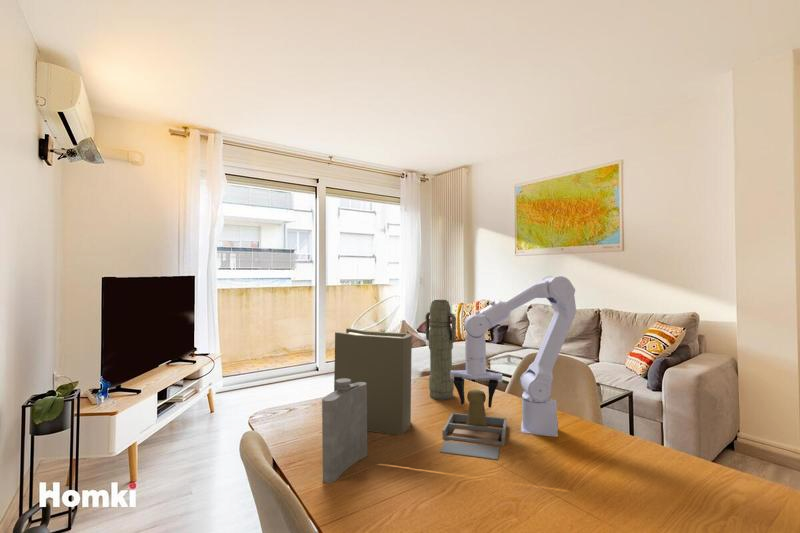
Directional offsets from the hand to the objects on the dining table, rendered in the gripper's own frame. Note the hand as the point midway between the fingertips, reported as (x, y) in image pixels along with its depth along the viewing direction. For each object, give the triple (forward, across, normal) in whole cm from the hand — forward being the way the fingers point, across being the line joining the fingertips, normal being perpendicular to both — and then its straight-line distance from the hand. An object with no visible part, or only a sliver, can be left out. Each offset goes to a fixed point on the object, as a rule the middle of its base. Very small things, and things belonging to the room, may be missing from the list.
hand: (476, 405), depth 111 cm
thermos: (+7, -16, +27) cm, 32 cm away
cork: (+7, 0, 0) cm, 7 cm away
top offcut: (+7, +1, -6) cm, 9 cm away
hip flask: (+7, -27, -30) cm, 41 cm away
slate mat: (+7, 0, -14) cm, 16 cm away
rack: (+7, 0, -2) cm, 7 cm away
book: (+7, -29, -6) cm, 30 cm away
